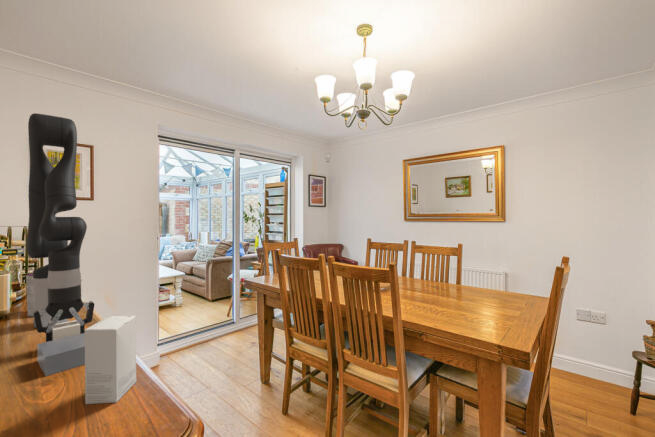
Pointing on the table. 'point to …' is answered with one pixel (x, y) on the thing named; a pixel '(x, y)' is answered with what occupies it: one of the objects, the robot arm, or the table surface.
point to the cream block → (66, 329)
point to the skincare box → (110, 359)
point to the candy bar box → (30, 295)
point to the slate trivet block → (61, 354)
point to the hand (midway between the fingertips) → (65, 341)
